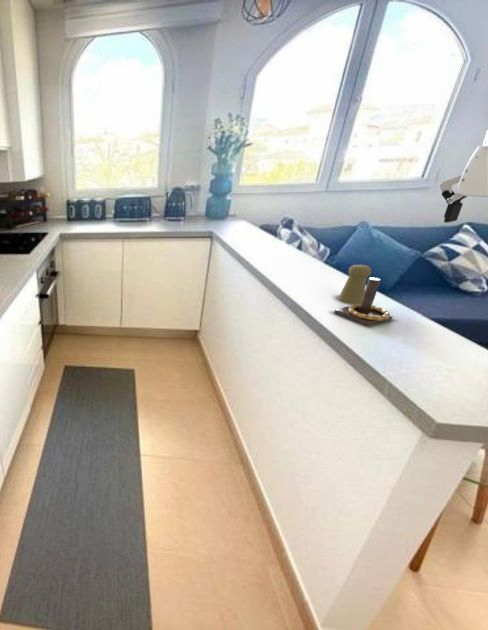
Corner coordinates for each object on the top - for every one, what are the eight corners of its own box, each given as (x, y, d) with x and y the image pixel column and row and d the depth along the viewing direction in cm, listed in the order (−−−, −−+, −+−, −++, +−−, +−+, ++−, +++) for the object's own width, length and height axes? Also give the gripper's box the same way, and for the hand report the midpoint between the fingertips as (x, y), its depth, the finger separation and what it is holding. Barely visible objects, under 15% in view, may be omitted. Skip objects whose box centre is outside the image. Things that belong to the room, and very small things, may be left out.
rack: (357, 307, 101) (369, 271, 96) (391, 319, 93) (406, 281, 89) (334, 313, 99) (345, 276, 94) (367, 326, 91) (381, 287, 86)
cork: (367, 303, 103) (379, 268, 98) (345, 303, 104) (356, 269, 99) (355, 296, 108) (366, 262, 103) (334, 296, 109) (344, 262, 104)
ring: (362, 305, 100) (364, 301, 99) (397, 317, 92) (398, 313, 92) (340, 310, 98) (341, 307, 97) (373, 323, 90) (374, 319, 89)
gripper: (597, 130, 61) (550, 228, 68) (468, 138, 76) (440, 217, 83) (572, 133, 59) (526, 233, 66) (445, 141, 74) (418, 221, 81)
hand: (478, 224), depth 74 cm, fingers open, 9 cm apart
